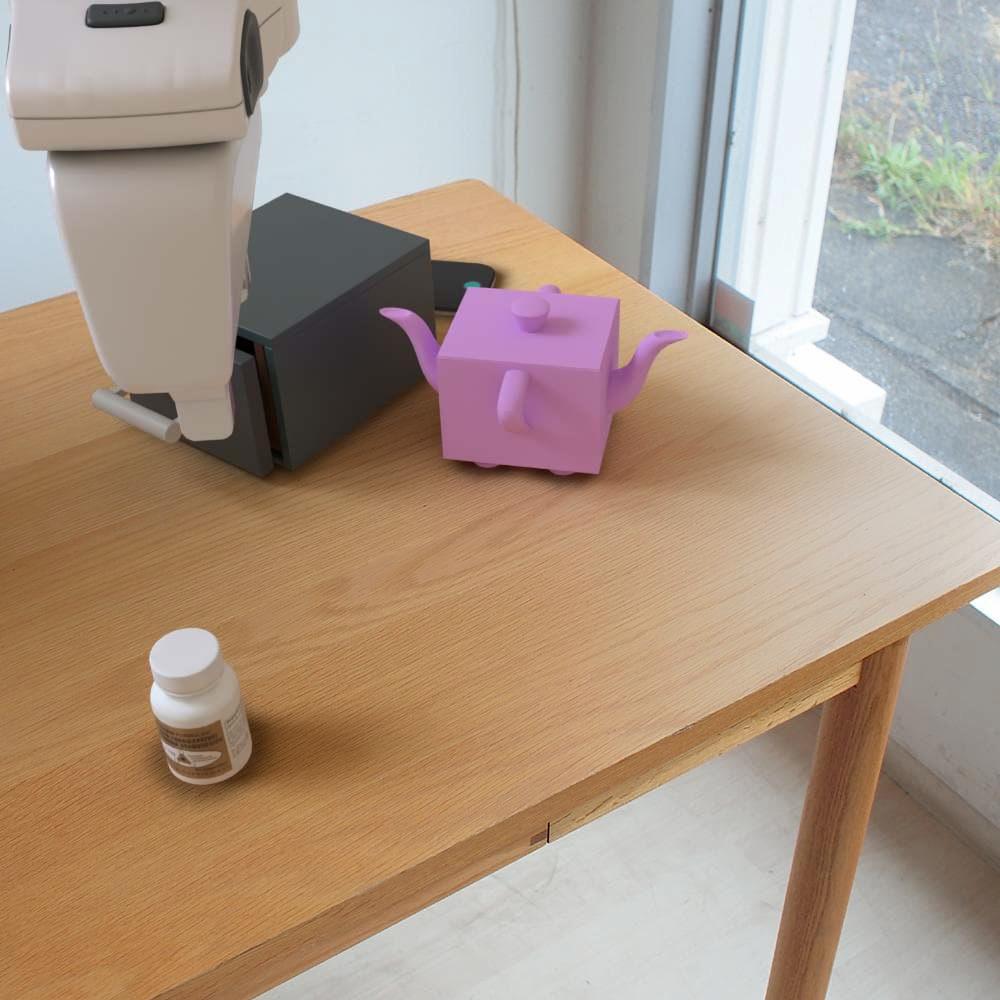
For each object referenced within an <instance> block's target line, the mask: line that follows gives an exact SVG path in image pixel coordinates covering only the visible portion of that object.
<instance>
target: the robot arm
mask: <svg viewBox="0 0 1000 1000" xmlns="http://www.w3.org/2000/svg"><path fill="white" fill-rule="evenodd" d="M7 3H8V7H9V11H10V12H9V13H10V24H9V29H8V44H7V52H6V61H5V70H4V71H5V72H4V73H5V74H4V84H3V87H4V88H3V91H4V99H5V103H6V108H7V113H8V116H9V120H10V123H11V127H12V131H13V134H14V136H15V139H16V142H17V143H18V146H19V147H20V148H21V149H23V150H25V151H28V152H29V151H30V152H46V161H45V162H46V181H47V186H48V192H49V198H50V203H51V207H52V211H53V217H54V220H55V224H56V227H57V232H58V235H59V238H60V242H61V245H62V248H63V253H64V256H65V259H66V262H67V265H68V268H69V271H70V274H71V278H72V282H73V284H74V288H75V291H76V295H77V297H78V300H79V303H80V306H81V309H82V313H83V315H84V319H85V322H86V324H87V328H88V331H89V334H90V336H91V340H92V343H93V346H94V348H95V352H96V354H97V356H98V359H99V361H100V364H101V365H102V367H103V369H104V371H105V372H106V374H107V375H108V376H109V378H110V379H111V380H112V381H113V383H115V385H116V386H119V387H120V388H121V389H122V390H124V391H126V392H128V394H129V393H135V394H145V393H168V392H169V394H170V396H171V397H172V399H173V400H174V402H175V404H176V408H177V413H178V418H179V422H180V427H181V432H182V434H183V435H184V436H185V437H186V438H187V439H190V440H192V441H204V440H220V439H225V438H228V437H229V436H230V435H231V434H232V431H233V425H234V416H235V402H234V398H233V390H232V384H231V375H232V371H233V362H234V352H235V344H236V336H237V328H238V320H239V312H240V304H241V303H243V302H244V301H245V300H247V297H248V294H249V288H250V281H251V275H250V268H249V261H248V254H247V249H248V241H249V233H250V225H251V217H252V211H253V210H254V209H253V207H254V201H255V192H256V185H257V177H258V169H259V160H260V154H261V153H260V151H261V146H262V145H261V144H262V137H263V136H262V135H263V121H262V120H263V119H262V108H261V98H262V97H263V96H264V95H265V93H266V91H267V90H268V87H269V85H270V84H269V78H270V76H271V75H272V73H273V71H274V70H275V68H276V66H277V64H278V62H279V60H280V59H281V58H282V57H283V56H285V55H286V54H287V53H289V51H290V50H291V49H292V48H293V47H294V46H295V45H296V43H297V41H298V39H299V37H300V35H301V23H300V13H299V5H298V0H7Z"/></svg>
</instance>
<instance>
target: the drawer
mask: <svg viewBox="0 0 1000 1000" xmlns="http://www.w3.org/2000/svg"><path fill="white" fill-rule="evenodd" d="M231 384H232V390H233V398H234V402H235V416H234V425H233V431H232V434H231V435H230V436H229V437H228V438H225V439H220V440H204V441H192V440H190V439H187V438H186V437H185V436H184V435H183V434H182V432H181V427H180V422H179V418H178V413H177V408H176V404H175V402H174V400H173V399H172V397H171V396H170V394H169V392H168V393H145V394H135V393H128V392H126V391H124V390H122V389H121V388H120V387H119V386H118V385H116V386H115V387H113V388H111V389H110V390H109V389H107V388H106V387H105V388H103V387H100V388H98V389H96V390H95V391H94V392H93V394H92V396H91V405H92V407H93V408H95V409H96V410H99V411H101V412H103V413H105V414H107V415H109V416H111V417H113V418H115V419H117V420H119V421H122V422H124V423H126V424H127V425H130V426H132V427H134V428H136V429H138V430H140V431H142V432H144V433H146V434H148V435H151V436H152V437H155V438H156V439H159V440H161V441H163V442H165V443H167V444H172V445H173V444H175V443H177V442H178V441H179V440H181V441H184V442H187V443H189V444H190V445H192V446H194V447H197V448H198V449H200V450H203V451H205V452H207V453H209V454H211V455H213V456H215V457H217V458H220V459H222V460H224V461H226V462H228V463H230V464H232V465H234V466H236V467H239V468H241V469H243V470H245V471H247V472H249V473H251V474H252V475H255V476H257V477H258V478H259V477H260V478H264V477H265V476H266V475H268V474H270V473H271V472H272V471H274V470H275V466H274V462H273V460H272V454H271V448H273V449H275V450H278V451H282V449H281V443H280V437H279V431H278V425H277V419H276V414H275V408H274V402H273V396H272V390H271V384H270V378H269V372H268V366H267V360H266V354H265V348H264V346H263V345H260V344H258V343H256V342H253V341H251V340H248V339H246V338H243V337H241V336H238V335H237V336H236V344H235V352H234V362H233V371H232V375H231ZM127 395H129V399H128V398H126V397H125V396H127ZM270 447H271V448H270Z"/></svg>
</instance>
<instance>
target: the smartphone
mask: <svg viewBox="0 0 1000 1000" xmlns="http://www.w3.org/2000/svg"><path fill="white" fill-rule="evenodd" d="M431 267H432V281H433V295H434V309H435V316H438V317H451V318H454V317H455V315H456V313H457V310H458V308H459V306H460V304H461V302H462V299H463V297H464V295H465V293H466V291H467V288H468V287H480V288H494V286H495V284H496V275H497V274H496V270H495V268H493V267H492V266H490V265H488V264H484V263H479V262H466V261H453V260H437V259H431Z"/></svg>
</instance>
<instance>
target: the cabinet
mask: <svg viewBox="0 0 1000 1000" xmlns="http://www.w3.org/2000/svg"><path fill="white" fill-rule="evenodd" d="M247 254H248V261H249V268H250V275H251V281H250V288H249V294H248V297H247V300H245V301H244V302H243V303H241V304H240V312H239V320H238V328H237V335H238V336H241V337H243V338H246V339H248V340H251V341H253V342H256V343H258V344H260V345H263V346H264V348H265V354H266V360H267V366H268V372H269V378H270V384H271V390H272V396H273V402H274V408H275V414H276V419H277V425H278V431H279V437H280V443H281V449H282V451H278V450H275V449H273V448H271V447H270V448H271V454H272V460H273V464H276V465H278V466H280V467H283V468H284V469H287V470H289V471H291V472H294V471H296V470H297V469H298V468H299V467H301V466H303V465H304V464H305V463H306V462H308V461H309V460H311V459H312V458H313V457H315V456H316V455H317V454H319V453H320V452H321V451H323V450H324V449H326V448H327V447H328V446H329V445H331V444H333V443H334V442H335V441H336V440H338V439H339V438H340V437H342V436H343V435H345V434H346V433H348V432H349V431H350V430H352V429H353V428H354V427H356V426H358V425H359V424H360V423H361V422H363V421H364V420H365V419H367V418H369V416H371V415H372V414H374V413H375V412H376V411H378V410H379V409H380V408H382V407H383V406H384V405H386V404H387V403H388V402H390V401H391V400H393V399H394V398H395V397H397V396H398V395H400V394H401V393H402V392H404V391H405V390H406V389H408V388H409V387H410V386H412V385H413V384H415V383H416V382H417V381H419V380H420V379H421V378H423V377H425V376H424V374H423V371H422V369H421V366H420V364H419V361H418V358H417V355H416V352H415V349H414V346H413V344H412V342H411V340H410V338H409V336H408V335H407V333H406V332H405V330H404V329H403V328H402V327H400V326H399V325H398V324H397V323H395V322H394V321H392V320H391V319H389V318H387V317H385V316H383V315H382V314H381V313H380V312H379V310H380V309H383V308H401V309H406V310H409V311H412V312H413V313H415V314H417V315H418V316H419V317H420V318H421V319H422V320H423V321H424V322H425V323H426V325H427V326H428V328H429V329H430V331H431V333H432V335H433V337H434V338H435V340H436V341H437V342H438V339H437V325H436V324H437V323H436V315H435V309H434V295H433V281H432V267H431V260H432V256H431V241H430V239H429V238H427V237H423V236H421V235H419V234H414V233H412V232H409V231H405V230H403V229H399V228H397V227H394V226H390V225H387V224H384V223H381V222H378V221H375V220H372V219H369V218H366V217H363V216H359V215H357V214H354V213H350V212H349V211H344V210H341V209H338V208H335V207H332V206H329V205H326V204H323V203H320V202H317V201H314V200H311V199H308V198H305V197H302V196H299V195H296V194H293V193H290V192H284V193H282V194H280V195H279V196H277V197H275V198H273V199H272V200H270V201H268V202H266V203H264V204H262V205H261V206H258V207H256V208H254V209H252V217H251V225H250V233H249V241H248V249H247Z"/></svg>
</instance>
